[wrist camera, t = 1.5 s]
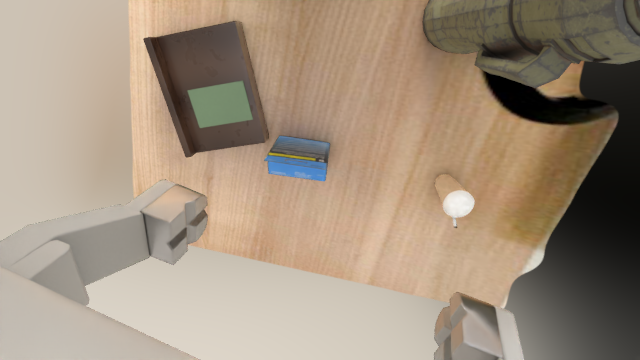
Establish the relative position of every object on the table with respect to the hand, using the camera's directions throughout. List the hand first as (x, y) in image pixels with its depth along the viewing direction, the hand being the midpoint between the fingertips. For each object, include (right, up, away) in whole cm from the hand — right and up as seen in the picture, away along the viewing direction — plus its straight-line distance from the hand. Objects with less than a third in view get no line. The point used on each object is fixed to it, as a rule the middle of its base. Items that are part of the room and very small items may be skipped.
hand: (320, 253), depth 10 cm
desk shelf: (-17, +17, +42) cm, 49 cm away
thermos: (+19, +25, +36) cm, 48 cm away
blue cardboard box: (-3, +8, +46) cm, 46 cm away
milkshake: (+22, +2, +46) cm, 51 cm away
